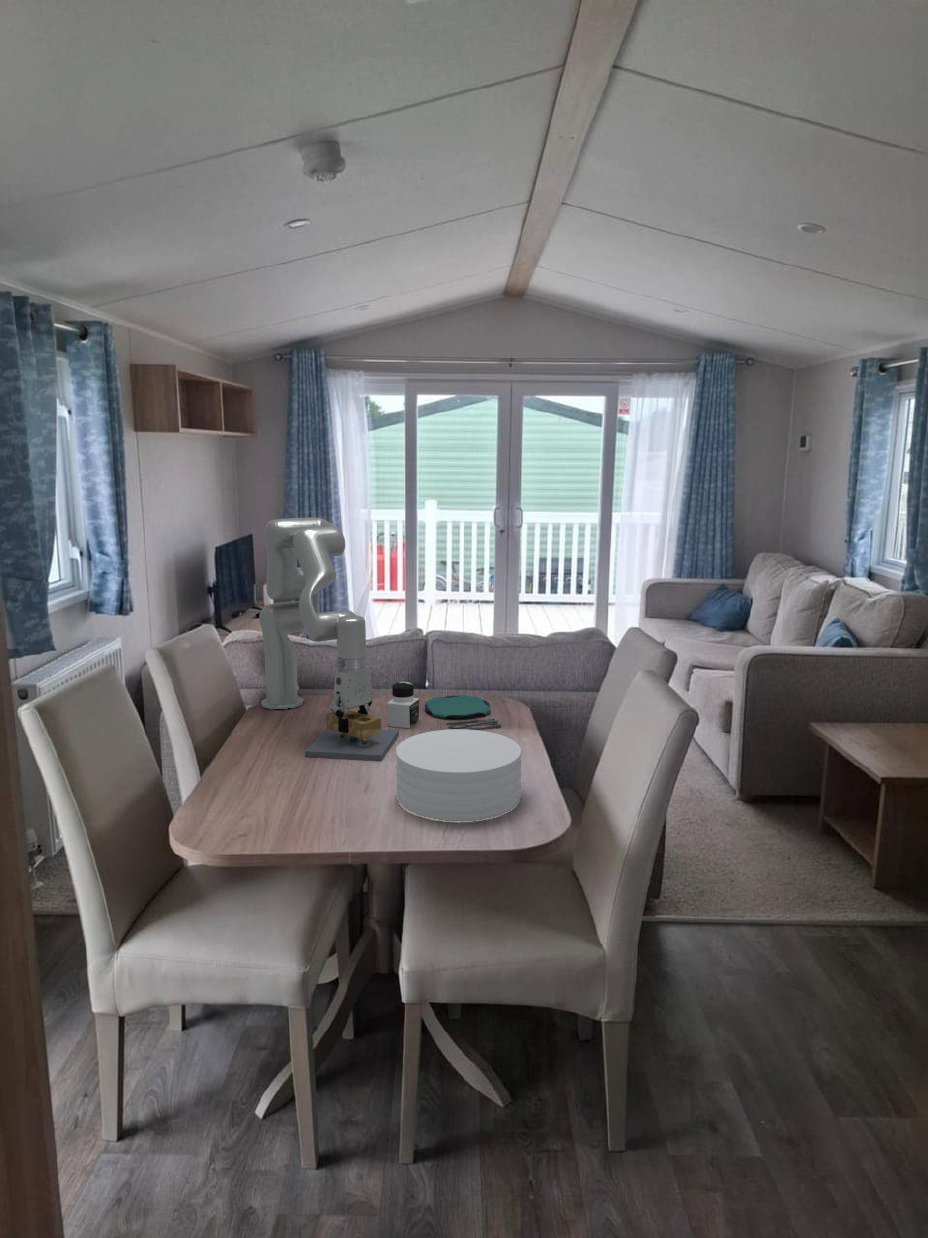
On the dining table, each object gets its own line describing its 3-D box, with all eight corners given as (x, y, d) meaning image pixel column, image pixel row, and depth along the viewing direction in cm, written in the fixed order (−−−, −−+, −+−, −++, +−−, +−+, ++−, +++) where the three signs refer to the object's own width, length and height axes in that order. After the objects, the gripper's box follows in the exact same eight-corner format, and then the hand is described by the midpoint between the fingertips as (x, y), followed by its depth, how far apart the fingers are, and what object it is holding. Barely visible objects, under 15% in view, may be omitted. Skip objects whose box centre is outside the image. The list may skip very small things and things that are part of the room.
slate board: (328, 731, 235) (328, 726, 235) (398, 735, 233) (398, 730, 232) (305, 756, 216) (304, 751, 216) (381, 761, 213) (381, 755, 213)
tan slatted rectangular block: (326, 728, 225) (326, 714, 224) (344, 722, 230) (343, 708, 229) (363, 739, 217) (363, 724, 216) (381, 733, 222) (380, 718, 221)
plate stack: (370, 800, 190) (369, 751, 187) (451, 765, 211) (451, 721, 209) (466, 836, 172) (466, 783, 170) (544, 794, 193) (546, 746, 191)
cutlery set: (480, 699, 268) (480, 692, 267) (508, 730, 239) (508, 722, 239) (418, 704, 263) (418, 697, 262) (439, 736, 234) (439, 728, 234)
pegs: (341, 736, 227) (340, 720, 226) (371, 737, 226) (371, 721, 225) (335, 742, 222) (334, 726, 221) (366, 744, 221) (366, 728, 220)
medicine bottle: (410, 729, 238) (409, 688, 236) (386, 726, 240) (386, 685, 238) (419, 721, 245) (419, 681, 242) (396, 719, 247) (396, 679, 245)
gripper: (337, 671, 211) (339, 740, 214) (385, 659, 224) (386, 723, 228) (316, 667, 216) (319, 734, 219) (365, 654, 229) (366, 718, 232)
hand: (353, 728), depth 223 cm, fingers closed on tan slatted rectangular block, 6 cm apart
